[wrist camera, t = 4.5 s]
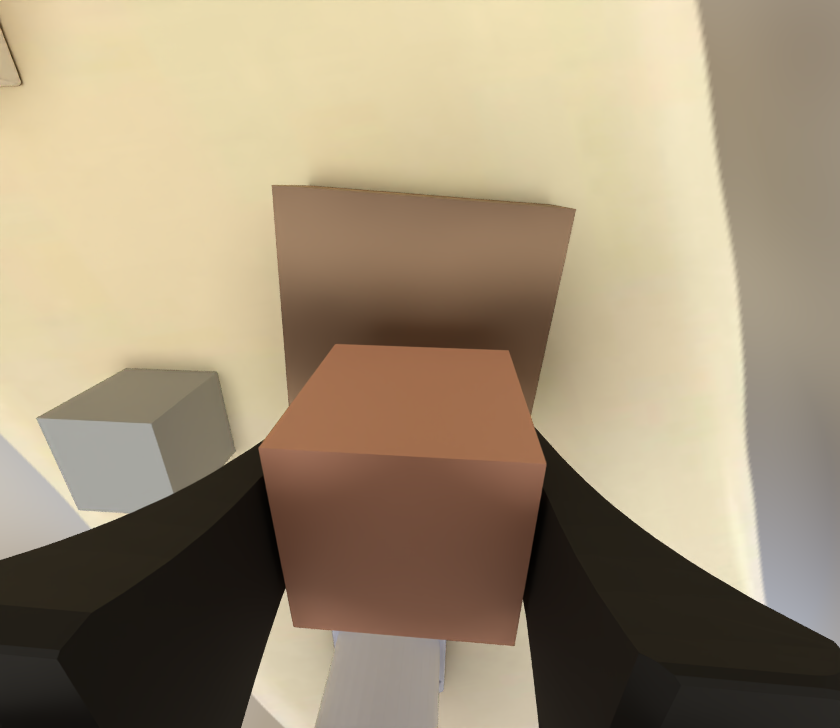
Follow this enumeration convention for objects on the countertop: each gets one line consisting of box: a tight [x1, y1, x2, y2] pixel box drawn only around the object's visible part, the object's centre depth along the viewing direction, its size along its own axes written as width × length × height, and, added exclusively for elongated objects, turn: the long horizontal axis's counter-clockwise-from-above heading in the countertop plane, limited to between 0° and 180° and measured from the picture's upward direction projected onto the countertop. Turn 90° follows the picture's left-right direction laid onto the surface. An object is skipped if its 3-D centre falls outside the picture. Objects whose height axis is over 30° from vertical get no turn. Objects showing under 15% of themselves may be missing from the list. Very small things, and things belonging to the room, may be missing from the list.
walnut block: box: [272, 185, 576, 416], centre depth 17 cm, size 10×10×4 cm
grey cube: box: [36, 368, 235, 513], centre depth 19 cm, size 5×5×5 cm
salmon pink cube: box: [258, 344, 546, 646], centre depth 10 cm, size 5×5×5 cm
